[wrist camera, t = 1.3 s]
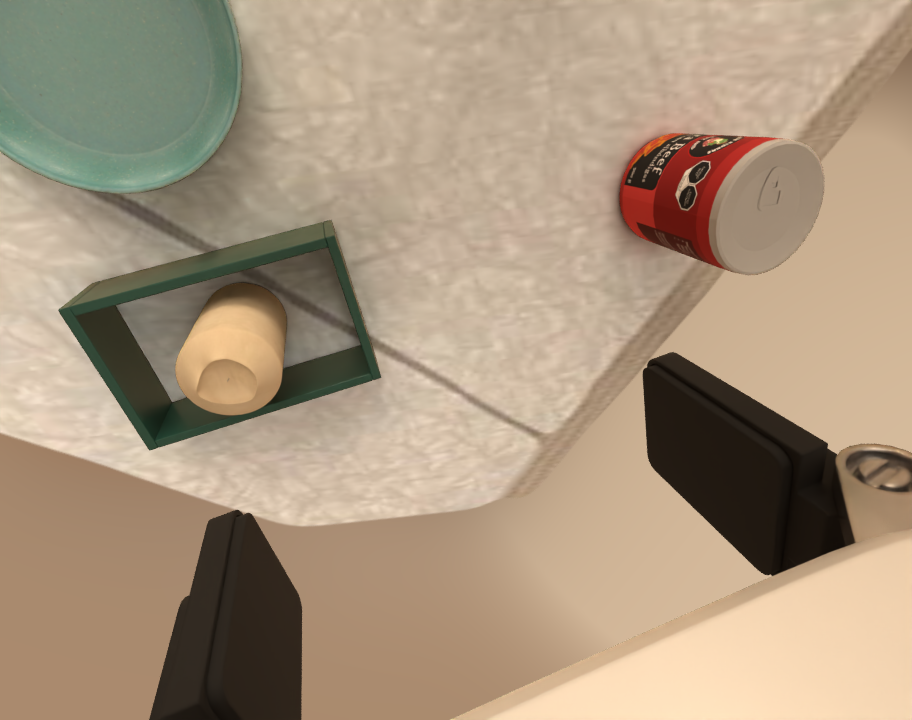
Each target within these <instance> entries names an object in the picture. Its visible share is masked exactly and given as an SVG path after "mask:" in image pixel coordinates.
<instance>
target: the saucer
mask: <svg viewBox="0 0 912 720" xmlns="http://www.w3.org/2000/svg"><path fill="white" fill-rule="evenodd" d="M241 87H242V54H241V46H240V41H239V35H238V30H237V26H236V23H235V18H234V15H233V12H232V9H231V6H230V3H229V1H228V0H0V152H1V153H3V154H4V155H5V156H7V157H9V158H10V159H11V160H13V161H15V162H17V163H18V164H20V165H22V166H24V167H25V168H27V169H29V170H31V171H33V172H35V173H37V174H40V175H42V176H44V177H46V178H48V179H51V180H54V181H56V182H59V183H62V184H65V185H68V186H72V187H76V188H81V189H85V190H89V191H95V192H102V193H114V194H131V193H140V192H147V191H152V190H157V189H160V188H163V187H166V186H169V185H171V184H174V183H175V182H177V181H180V180H182V179H184V178H186V177H187V176H189V175H191V174H192V173H194V172H195V171H196V170H198V169H199V168H200V167H201V166H202V165H203V164H205V163H206V162H207V161H208V160H209V159H210V158H211V157H212V156H213V154H214V153H215V152H216V151H217V149H218V148H219V147H220V145H221V144H222V143H223V141H224V139H225V138H226V136H227V134H228V132H229V130H230V129H231V126H232V124H233V121H234V118H235V115H236V112H237V109H238V106H239V101H240V96H241Z"/></svg>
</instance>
